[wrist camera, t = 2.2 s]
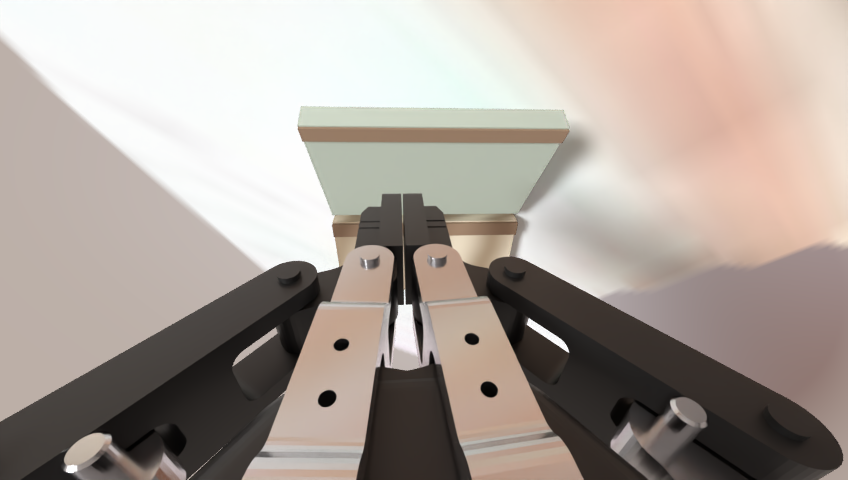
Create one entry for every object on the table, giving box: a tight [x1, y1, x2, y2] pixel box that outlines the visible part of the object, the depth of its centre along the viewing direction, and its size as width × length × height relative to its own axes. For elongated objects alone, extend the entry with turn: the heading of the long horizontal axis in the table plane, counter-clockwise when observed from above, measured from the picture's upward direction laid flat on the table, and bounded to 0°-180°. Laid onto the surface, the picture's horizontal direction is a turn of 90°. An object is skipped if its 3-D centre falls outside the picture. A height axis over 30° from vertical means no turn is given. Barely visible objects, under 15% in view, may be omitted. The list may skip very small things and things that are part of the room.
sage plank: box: [298, 106, 569, 215], centre depth 23 cm, size 16×10×2 cm, turn 89°
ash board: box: [332, 214, 518, 289], centre depth 30 cm, size 16×8×2 cm, turn 89°
